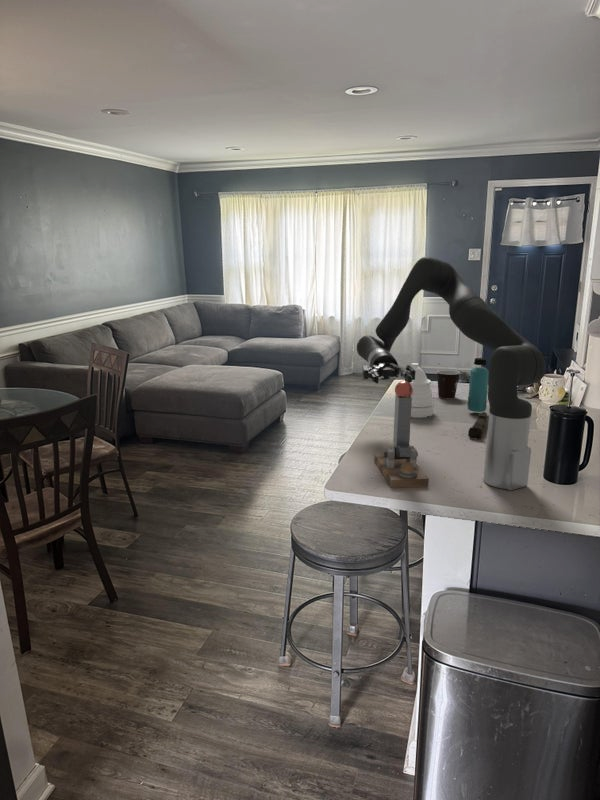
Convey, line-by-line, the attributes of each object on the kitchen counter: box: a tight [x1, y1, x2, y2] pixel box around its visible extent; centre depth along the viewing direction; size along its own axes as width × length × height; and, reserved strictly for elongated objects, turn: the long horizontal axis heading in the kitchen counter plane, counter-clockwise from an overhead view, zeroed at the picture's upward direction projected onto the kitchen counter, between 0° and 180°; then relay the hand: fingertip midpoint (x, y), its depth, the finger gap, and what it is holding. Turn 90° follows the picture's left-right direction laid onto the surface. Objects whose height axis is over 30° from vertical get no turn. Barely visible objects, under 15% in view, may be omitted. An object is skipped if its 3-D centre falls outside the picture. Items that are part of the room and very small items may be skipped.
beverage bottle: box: [467, 357, 489, 413], centre depth 190 cm, size 6×7×20 cm
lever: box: [392, 380, 413, 459], centre depth 133 cm, size 6×4×20 cm
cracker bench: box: [373, 445, 430, 489], centre depth 136 cm, size 18×9×6 cm, turn 5°
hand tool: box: [467, 411, 488, 440], centre depth 172 cm, size 19×4×5 cm, turn 151°
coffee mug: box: [436, 369, 460, 399], centre depth 215 cm, size 12×9×10 cm
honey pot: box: [401, 362, 435, 418], centre depth 192 cm, size 13×13×18 cm
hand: (393, 380), depth 144 cm, fingers open, 8 cm apart
